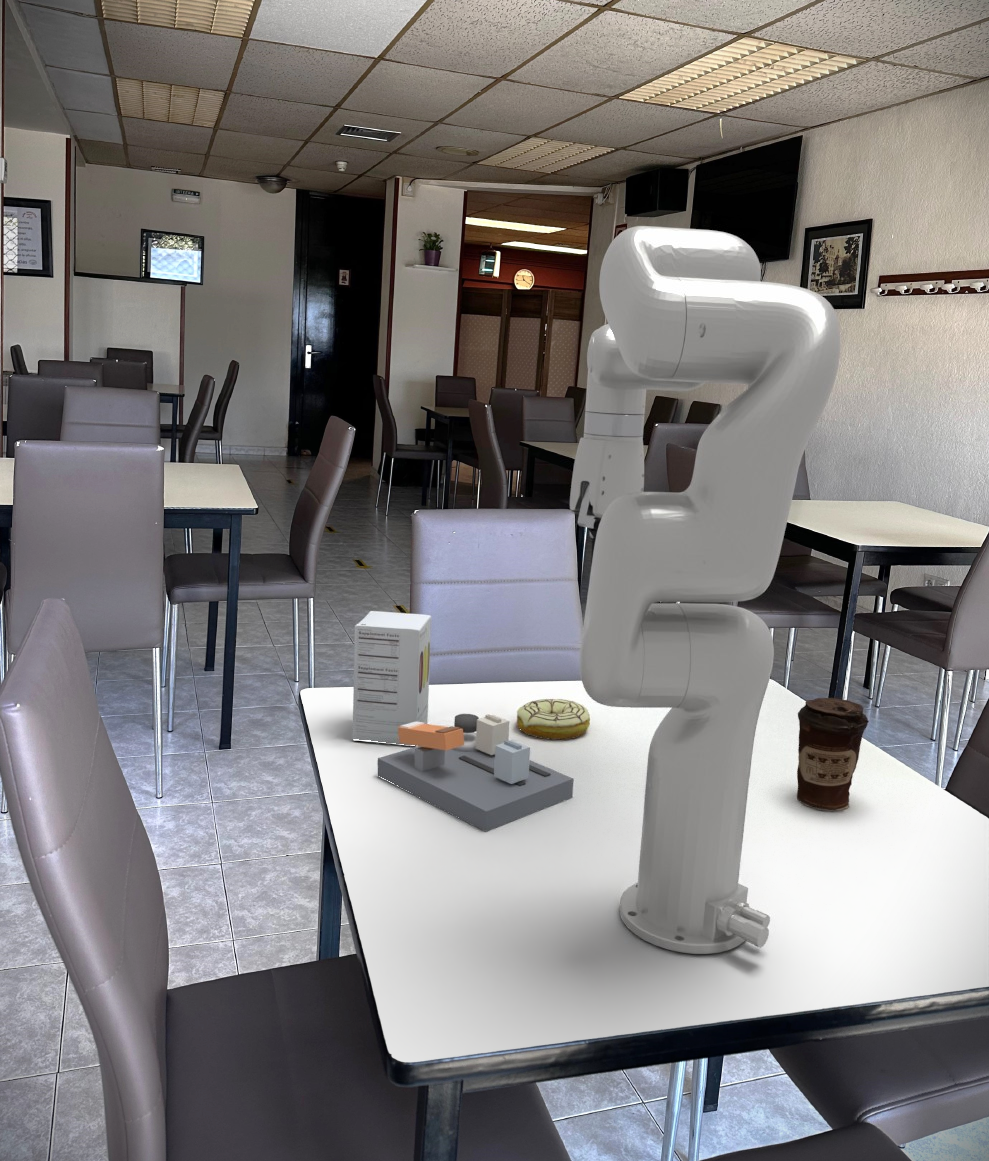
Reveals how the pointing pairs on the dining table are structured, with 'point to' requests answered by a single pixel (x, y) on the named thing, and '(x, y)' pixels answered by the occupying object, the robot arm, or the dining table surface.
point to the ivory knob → (491, 733)
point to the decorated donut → (553, 718)
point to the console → (473, 783)
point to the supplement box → (390, 674)
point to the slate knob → (511, 761)
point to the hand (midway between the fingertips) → (604, 568)
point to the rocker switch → (431, 735)
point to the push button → (466, 722)
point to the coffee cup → (828, 751)
